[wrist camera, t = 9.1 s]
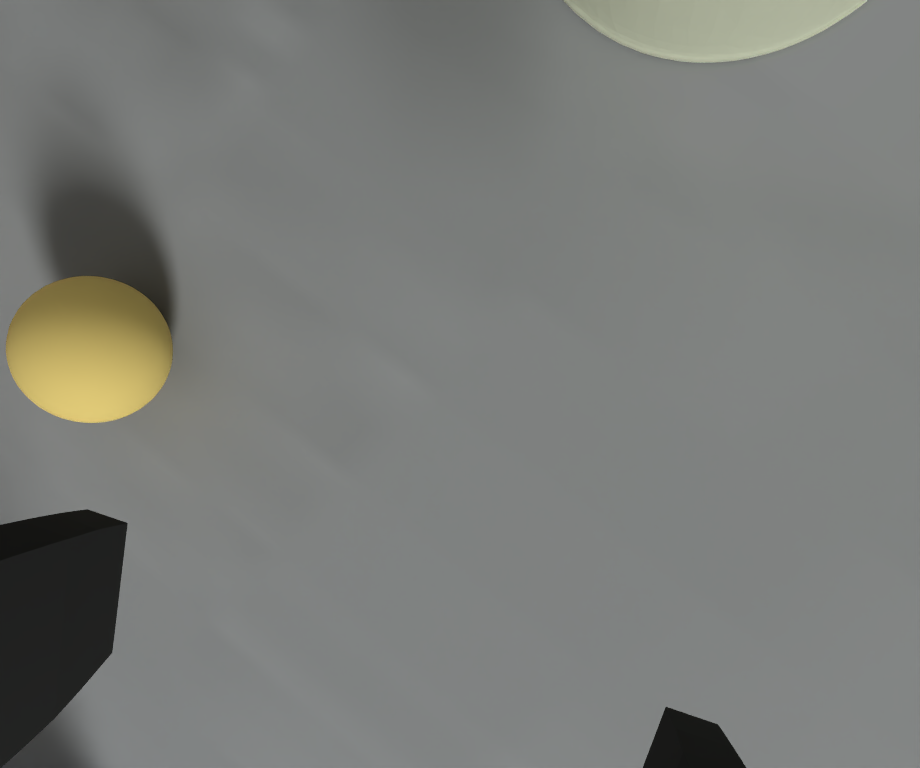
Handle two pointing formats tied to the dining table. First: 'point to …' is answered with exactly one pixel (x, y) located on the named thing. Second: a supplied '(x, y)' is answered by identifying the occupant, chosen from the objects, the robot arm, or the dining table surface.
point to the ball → (89, 349)
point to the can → (711, 25)
